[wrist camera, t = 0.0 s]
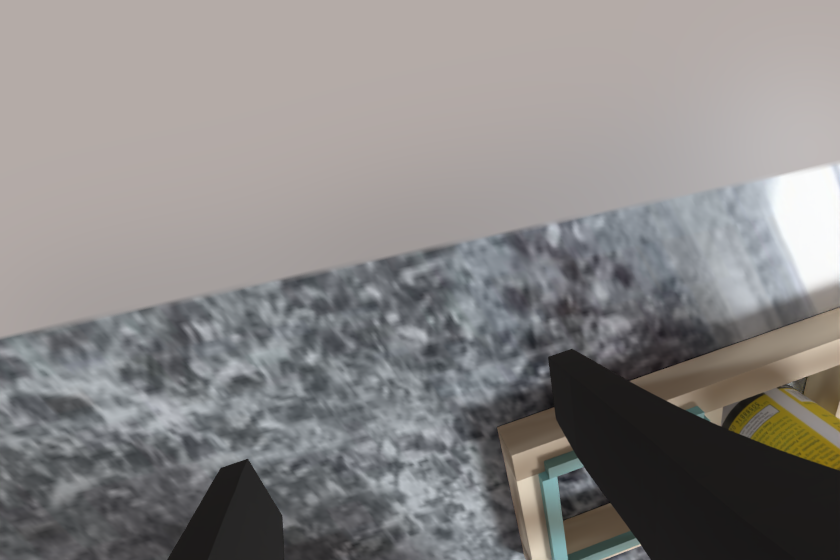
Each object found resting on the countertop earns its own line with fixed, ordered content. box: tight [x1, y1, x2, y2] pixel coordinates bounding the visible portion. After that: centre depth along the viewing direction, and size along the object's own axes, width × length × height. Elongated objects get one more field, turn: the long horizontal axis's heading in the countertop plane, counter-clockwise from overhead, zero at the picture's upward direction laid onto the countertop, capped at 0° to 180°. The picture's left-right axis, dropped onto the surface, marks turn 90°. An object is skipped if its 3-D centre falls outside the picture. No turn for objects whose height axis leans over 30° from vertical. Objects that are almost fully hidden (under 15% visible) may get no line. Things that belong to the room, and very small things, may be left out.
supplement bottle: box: [721, 384, 840, 471], centre depth 24 cm, size 5×5×10 cm
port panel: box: [497, 307, 840, 560], centre depth 27 cm, size 12×22×2 cm, turn 104°
